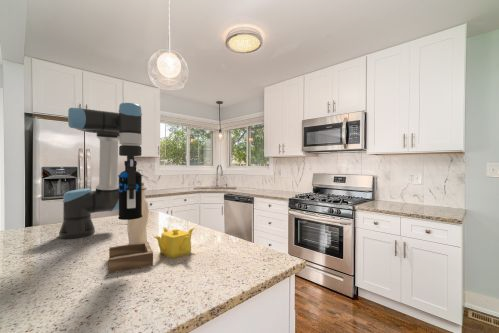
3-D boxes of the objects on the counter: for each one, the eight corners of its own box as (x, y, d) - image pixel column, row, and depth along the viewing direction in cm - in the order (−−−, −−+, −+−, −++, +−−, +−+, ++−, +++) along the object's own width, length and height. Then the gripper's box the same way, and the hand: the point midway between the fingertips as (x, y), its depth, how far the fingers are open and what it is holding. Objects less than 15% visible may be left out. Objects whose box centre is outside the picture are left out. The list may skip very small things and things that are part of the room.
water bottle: (138, 247, 106) (138, 184, 106) (120, 246, 108) (120, 183, 108) (152, 240, 116) (152, 182, 116) (136, 239, 118) (136, 182, 118)
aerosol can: (123, 215, 95) (123, 164, 95) (145, 215, 95) (145, 164, 95) (113, 220, 86) (113, 164, 86) (137, 219, 87) (137, 164, 87)
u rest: (109, 259, 94) (109, 247, 94) (148, 252, 101) (148, 241, 101) (108, 273, 82) (108, 259, 82) (153, 265, 88) (153, 252, 88)
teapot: (163, 246, 108) (163, 225, 108) (195, 246, 109) (195, 225, 109) (151, 259, 93) (151, 234, 93) (189, 259, 94) (189, 234, 94)
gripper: (118, 146, 98) (118, 202, 98) (119, 142, 80) (119, 211, 80) (139, 147, 102) (139, 201, 102) (144, 143, 83) (144, 209, 84)
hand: (130, 206), depth 91 cm, fingers closed on aerosol can, 8 cm apart
